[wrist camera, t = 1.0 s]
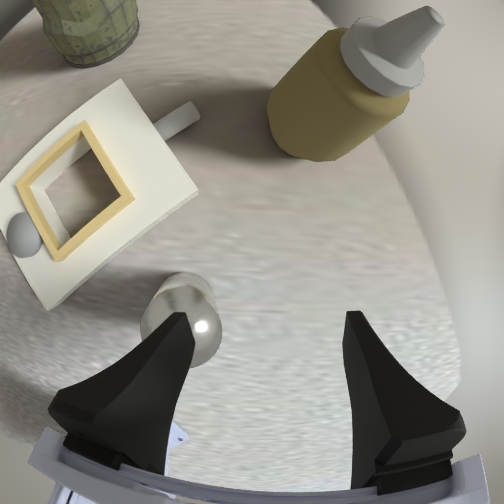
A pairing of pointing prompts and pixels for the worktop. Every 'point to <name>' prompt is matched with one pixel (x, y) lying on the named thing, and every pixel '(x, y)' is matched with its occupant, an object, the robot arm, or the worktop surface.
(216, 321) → the spout can
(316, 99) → the squeeze bottle
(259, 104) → the worktop surface
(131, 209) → the white holder tray
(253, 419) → the worktop surface
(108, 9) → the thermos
